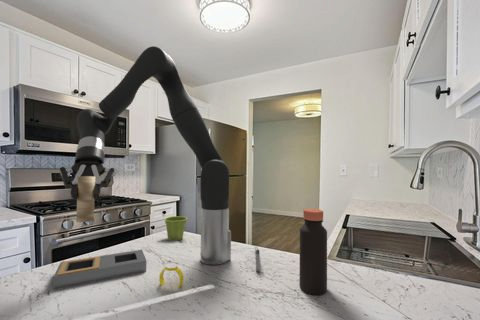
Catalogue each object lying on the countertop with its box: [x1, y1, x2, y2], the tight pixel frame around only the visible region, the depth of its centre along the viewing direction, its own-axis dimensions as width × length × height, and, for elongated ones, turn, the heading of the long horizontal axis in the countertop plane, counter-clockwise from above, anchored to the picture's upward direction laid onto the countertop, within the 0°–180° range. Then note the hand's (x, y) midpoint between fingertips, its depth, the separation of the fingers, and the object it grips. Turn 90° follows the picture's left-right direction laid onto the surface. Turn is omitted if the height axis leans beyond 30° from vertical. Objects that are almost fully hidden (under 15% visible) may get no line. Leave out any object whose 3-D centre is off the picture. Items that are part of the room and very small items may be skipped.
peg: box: [75, 176, 96, 223], centre depth 64 cm, size 4×4×12 cm
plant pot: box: [163, 216, 188, 241], centre depth 99 cm, size 9×9×9 cm
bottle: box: [298, 208, 328, 296], centre depth 60 cm, size 7×7×20 cm
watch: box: [158, 263, 184, 288], centre depth 59 cm, size 6×3×6 cm, turn 78°
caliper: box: [254, 245, 260, 272], centre depth 79 cm, size 20×1×6 cm, turn 178°
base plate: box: [52, 249, 147, 291], centre depth 66 cm, size 21×10×4 cm, turn 119°
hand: (85, 197), depth 63 cm, fingers closed on peg, 4 cm apart
